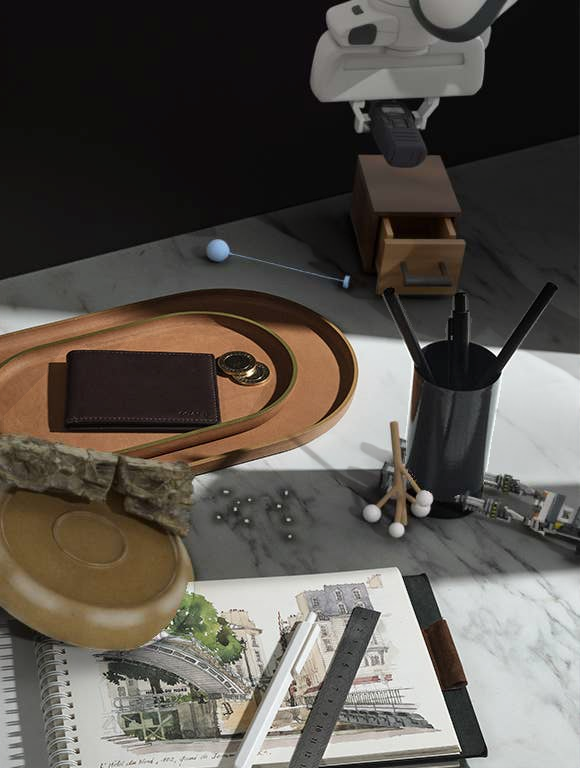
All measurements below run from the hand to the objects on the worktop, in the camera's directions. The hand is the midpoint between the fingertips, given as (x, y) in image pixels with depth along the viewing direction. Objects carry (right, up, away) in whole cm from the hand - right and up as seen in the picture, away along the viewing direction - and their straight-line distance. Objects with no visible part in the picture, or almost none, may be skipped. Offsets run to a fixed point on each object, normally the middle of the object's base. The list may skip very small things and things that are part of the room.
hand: (388, 129), depth 154 cm
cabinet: (+7, -10, +26) cm, 28 cm away
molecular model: (-11, -15, +20) cm, 27 cm away
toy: (-3, -41, -13) cm, 43 cm away
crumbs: (-18, -46, -16) cm, 52 cm away
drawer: (+7, -15, +18) cm, 24 cm away
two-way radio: (+1, -5, -5) cm, 8 cm away
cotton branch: (-4, -36, -20) cm, 41 cm away
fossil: (-37, -40, -22) cm, 59 cm away
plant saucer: (-35, -47, -29) cm, 66 cm away
